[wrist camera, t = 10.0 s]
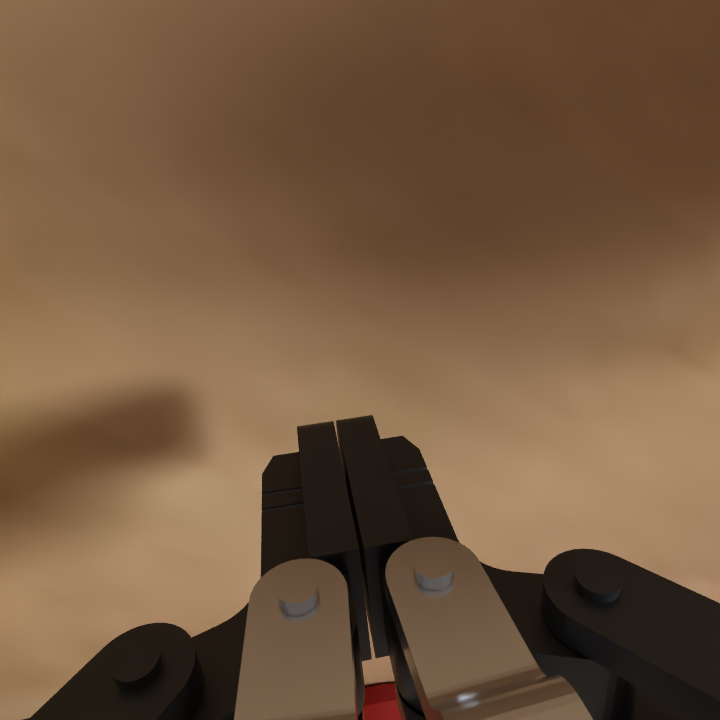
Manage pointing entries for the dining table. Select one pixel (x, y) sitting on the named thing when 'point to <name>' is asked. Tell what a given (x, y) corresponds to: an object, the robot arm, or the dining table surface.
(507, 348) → the dining table surface
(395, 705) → the canned food
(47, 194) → the dining table surface
